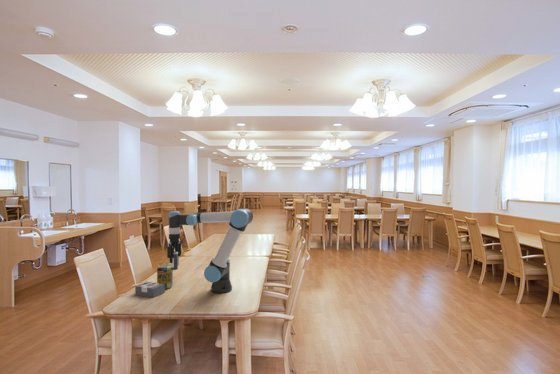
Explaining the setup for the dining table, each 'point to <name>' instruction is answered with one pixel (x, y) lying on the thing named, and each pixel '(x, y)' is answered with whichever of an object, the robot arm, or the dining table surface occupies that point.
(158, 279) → the protein box
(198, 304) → the dining table surface
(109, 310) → the dining table surface
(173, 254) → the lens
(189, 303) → the dining table surface
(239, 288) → the dining table surface
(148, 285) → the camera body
